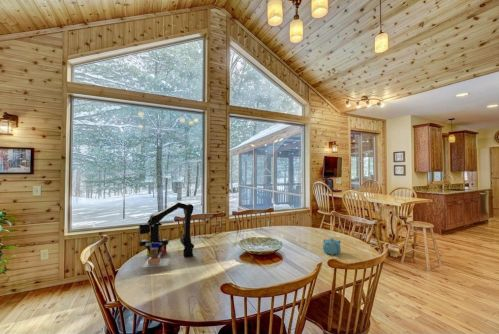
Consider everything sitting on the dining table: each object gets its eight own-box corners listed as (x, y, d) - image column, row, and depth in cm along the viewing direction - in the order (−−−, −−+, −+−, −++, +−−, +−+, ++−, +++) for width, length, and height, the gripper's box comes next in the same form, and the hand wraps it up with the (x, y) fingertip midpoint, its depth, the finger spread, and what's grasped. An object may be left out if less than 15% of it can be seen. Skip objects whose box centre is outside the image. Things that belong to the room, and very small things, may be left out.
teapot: (332, 259, 179) (332, 243, 179) (315, 252, 193) (315, 237, 193) (349, 254, 190) (349, 239, 190) (331, 248, 204) (331, 234, 204)
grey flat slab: (170, 259, 176) (170, 257, 176) (167, 266, 162) (167, 265, 162) (146, 260, 173) (146, 259, 173) (142, 268, 159) (142, 267, 159)
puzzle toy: (159, 257, 179) (159, 244, 179) (147, 256, 181) (147, 243, 181) (166, 252, 189) (166, 240, 189) (154, 251, 191) (155, 239, 191)
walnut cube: (158, 254, 172) (158, 247, 172) (157, 256, 167) (157, 249, 167) (151, 254, 171) (151, 247, 171) (149, 257, 166) (150, 250, 166)
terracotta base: (160, 259, 173) (160, 255, 173) (158, 263, 166) (158, 258, 166) (150, 260, 172) (150, 255, 172) (148, 263, 165) (148, 259, 165)
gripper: (169, 228, 179) (169, 249, 179) (143, 230, 175) (142, 251, 175) (168, 232, 168) (167, 255, 168) (139, 234, 164) (139, 256, 164)
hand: (154, 254), depth 169 cm, fingers closed on walnut cube, 5 cm apart
